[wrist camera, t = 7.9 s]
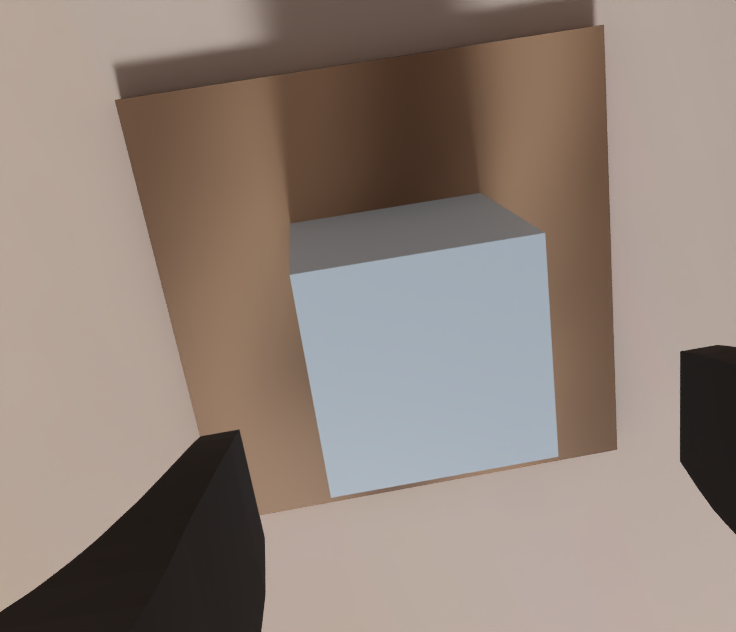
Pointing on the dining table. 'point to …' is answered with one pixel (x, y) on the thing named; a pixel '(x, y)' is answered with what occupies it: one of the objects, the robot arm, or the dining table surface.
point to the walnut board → (365, 193)
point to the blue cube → (425, 341)
